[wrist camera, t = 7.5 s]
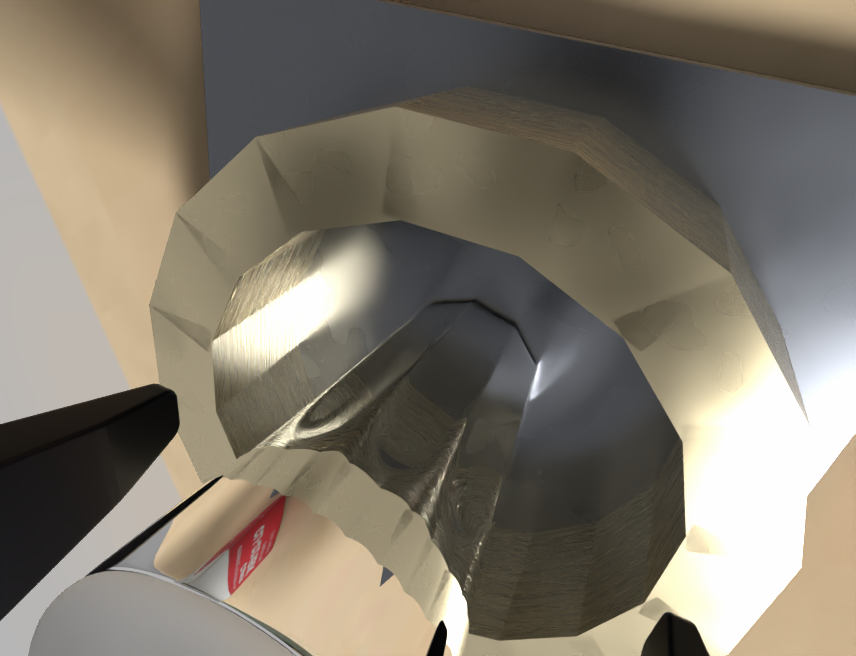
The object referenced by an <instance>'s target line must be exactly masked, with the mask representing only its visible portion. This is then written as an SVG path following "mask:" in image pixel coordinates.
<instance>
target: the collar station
mask: <svg viewBox="0 0 856 656" xmlns="http://www.w3.org/2000/svg"><path fill="white" fill-rule="evenodd" d="M200 17H201V35H202V52H203V69H204V87H205V104H206V121H207V139H208V156H209V173H210V181H209V182H208V183H207V184H206V185H205V186H204V187H203V188H202V189H200V190H199V191H198V192H197V193H196V194H195V195H194V196H193V197H192V198H191V199H190V200H189V201H188V202H187V203H186V204H185V205H184V206H183V207H181V208H180V209H179V210H178V211H177V212H176V214H175V218H174V221H173V225H172V228H171V232H170V235H169V239H168V242H167V246H166V249H165V252H164V256H163V259H162V263H161V266H160V270H159V273H158V277H157V280H156V283H155V287H154V290H153V294H152V297H151V301H150V304H149V306H150V314H151V321H152V329H153V336H154V344H155V351H156V359H157V366H158V374H159V381H160V385H162V386H164V387H167V388H169V389H171V390H173V391H174V392H175V393H176V395H177V400H178V409H179V417H180V426H179V429H178V433H179V435H180V437H181V439H182V441H183V444H184V446H185V448H186V450H187V452H188V454H189V456H190V459H191V461H192V463H193V465H194V467H195V469H196V471H197V473H198V476H199V478H200V480H201V482H202V483H203V484H205V483H206V482H207V481H209V480H210V479H211V478H213V477H214V476H215V475H216V474H218V473H219V472H220V471H222V470H223V469H224V468H226V467H227V466H228V465H230V464H231V463H232V462H233V461H235V460H236V459H237V458H239V457H240V456H241V455H243V454H244V453H245V452H247V451H248V450H250V449H251V448H252V447H254V446H255V445H256V444H258V443H259V442H260V441H262V440H263V439H264V438H266V437H267V436H269V435H270V434H271V433H273V432H274V431H275V430H277V429H278V428H279V427H281V426H282V425H283V424H284V423H286V422H287V421H288V420H290V419H291V418H292V417H293V416H295V415H296V414H297V413H298V412H300V411H301V410H302V409H303V408H304V407H306V406H307V405H308V404H309V403H311V402H312V401H313V400H314V399H315V398H317V397H318V396H319V395H320V394H321V393H323V392H324V391H325V390H326V389H328V388H329V387H330V386H331V385H332V384H334V383H335V382H336V381H337V380H338V379H340V378H341V377H342V376H343V375H344V374H346V373H347V372H348V371H349V370H350V369H351V368H353V367H354V366H355V365H356V364H357V363H359V362H360V361H361V360H362V359H363V358H365V357H366V356H367V355H368V354H369V353H371V352H372V351H373V350H374V349H375V348H377V347H378V346H379V345H380V344H381V343H383V342H384V341H385V340H386V339H387V338H389V337H390V336H391V335H392V334H393V333H395V332H396V331H397V330H398V329H399V328H400V327H402V326H403V325H404V324H405V323H406V322H408V321H409V320H410V319H411V318H412V317H414V316H415V315H416V314H417V313H418V312H420V311H421V310H422V309H423V308H425V307H426V306H427V305H429V304H450V303H468V302H473V303H475V304H477V305H479V306H480V307H482V308H484V309H485V310H487V311H489V312H491V313H492V314H494V315H496V316H498V317H499V318H501V319H503V320H505V321H506V322H508V323H510V324H512V325H513V326H515V327H516V329H517V331H518V333H519V335H520V337H521V339H522V341H523V343H524V344H525V346H526V348H527V350H528V352H529V354H530V356H531V358H532V359H533V361H534V363H535V365H536V367H537V370H536V374H535V379H534V384H533V388H532V393H531V398H530V403H529V408H528V412H527V416H526V419H525V423H524V426H523V430H522V433H521V437H520V440H519V444H518V447H517V451H516V454H515V457H514V461H513V464H512V468H511V471H510V475H509V478H508V482H507V485H506V489H505V492H504V495H503V499H502V502H501V506H500V509H499V513H498V516H497V520H496V523H495V527H494V530H493V534H492V537H491V541H490V544H489V548H488V551H487V555H486V558H485V562H484V565H483V569H482V572H481V576H480V580H479V584H478V588H477V592H476V599H475V605H474V611H473V616H472V620H471V625H470V629H469V633H468V637H467V642H466V646H465V650H464V654H463V656H641V652H642V648H643V645H644V643H645V641H646V639H647V637H648V636H649V634H650V633H651V631H652V630H653V628H654V627H655V625H656V624H657V622H658V621H659V619H660V618H661V616H662V615H663V614H664V613H666V612H672V613H674V614H677V615H679V616H681V617H683V618H686V619H688V620H690V621H692V622H693V623H694V624H695V625H696V626H697V627H698V629H699V631H700V634H701V636H702V638H703V641H704V643H705V645H706V648H707V650H708V652H709V655H710V656H724V655H726V654H729V652H730V651H731V650H732V649H733V648H734V646H735V645H736V644H737V643H738V642H739V641H740V639H741V638H742V637H743V636H744V635H745V633H746V632H747V631H748V630H749V629H750V627H751V626H752V625H753V624H754V623H755V621H756V620H757V619H758V618H759V617H760V616H761V614H762V613H763V612H764V611H765V610H766V608H767V607H768V606H769V605H770V604H771V602H772V601H773V600H774V599H775V598H776V597H777V595H778V594H779V593H780V592H781V591H782V589H783V588H784V587H785V586H786V585H787V583H788V582H789V581H790V580H791V579H792V577H793V576H794V575H795V574H796V573H797V572H798V570H799V569H800V568H801V562H802V549H803V536H804V523H805V510H806V498H807V495H808V494H809V493H810V491H811V490H812V489H813V487H814V486H815V485H816V483H817V482H818V481H819V480H820V478H821V477H822V476H823V474H824V473H825V472H826V470H827V469H828V468H829V466H830V465H831V464H832V463H833V461H834V460H835V459H836V457H837V456H838V455H839V453H840V452H841V451H842V449H843V448H844V447H845V446H846V444H847V443H848V442H849V440H850V439H851V438H852V436H853V435H854V434H855V432H856V93H855V92H850V91H845V90H840V89H835V88H830V87H825V86H819V85H814V84H809V83H804V82H799V81H794V80H789V79H784V78H779V77H774V76H769V75H764V74H759V73H754V72H749V71H744V70H739V69H734V68H729V67H724V66H719V65H714V64H709V63H703V62H698V61H693V60H688V59H683V58H678V57H673V56H668V55H663V54H658V53H653V52H648V51H643V50H638V49H633V48H628V47H623V46H618V45H613V44H608V43H603V42H598V41H593V40H587V39H582V38H577V37H572V36H567V35H562V34H557V33H552V32H547V31H542V30H537V29H532V28H527V27H522V26H517V25H512V24H507V23H502V22H497V21H492V20H487V19H482V18H476V17H471V16H466V15H461V14H456V13H451V12H446V11H441V10H436V9H431V8H426V7H421V6H416V5H411V4H406V3H401V2H396V1H391V0H200Z"/></svg>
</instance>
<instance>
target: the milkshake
mask: <svg viewBox="0 0 856 656" xmlns="http://www.w3.org/2000/svg"><path fill="white" fill-rule="evenodd" d="M536 370H537V367H536V365H535V363H534V361H533V359H532V358H531V356H530V354H529V352H528V350H527V348H526V346H525V344H524V343H523V341H522V339H521V337H520V335H519V333H518V331H517V329H516V327H515V326H513V325H512V324H510V323H508V322H506V321H505V320H503V319H501V318H499V317H498V316H496V315H494V314H492V313H491V312H489V311H487V310H485V309H484V308H482V307H480V306H479V305H477V304H475V303H473V302H468V303H450V304H429V305H427V306H426V307H425V308H423V309H422V310H421V311H420V312H418V313H417V314H416V315H415V316H414V317H412V318H411V319H410V320H409V321H408V322H406V323H405V324H404V325H403V326H402V327H400V328H399V329H398V330H397V331H396V332H395V333H393V334H392V335H391V336H390V337H389V338H387V339H386V340H385V341H384V342H383V343H381V344H380V345H379V346H378V347H377V348H375V349H374V350H373V351H372V352H371V353H369V354H368V355H367V356H366V357H365V358H363V359H362V360H361V361H360V362H359V363H357V364H356V365H355V366H354V367H353V368H351V369H350V370H349V371H348V372H347V373H346V374H344V375H343V376H342V377H341V378H340V379H338V380H337V381H336V382H335V383H334V384H332V385H331V386H330V387H329V388H328V389H326V390H325V391H324V392H323V393H321V394H320V395H319V396H318V397H317V398H315V399H314V400H313V401H312V402H311V403H309V404H308V405H307V406H306V407H304V408H303V409H302V410H301V411H300V412H298V413H297V414H296V415H295V416H293V417H292V418H291V419H290V420H288V421H287V422H286V423H284V424H283V425H282V426H281V427H279V428H278V429H277V430H275V431H274V432H273V433H271V434H270V435H269V436H267V437H266V438H264V439H263V440H262V441H260V442H259V443H258V444H256V445H255V446H254V447H252V448H251V449H250V450H248V451H247V452H245V453H244V454H243V455H241V456H240V457H239V458H237V459H236V460H235V461H233V462H232V463H231V464H230V465H228V466H227V467H226V468H224V469H223V470H222V471H220V472H219V473H218V474H216V475H215V476H214V477H213V478H211V479H210V480H209V481H207V482H206V483H205V484H203V485H202V486H201V487H200V488H198V489H197V490H196V491H194V492H193V493H192V494H190V495H189V496H188V497H187V498H185V499H184V500H183V501H181V502H180V503H179V504H177V505H176V506H175V507H174V508H172V509H171V510H170V511H168V512H167V513H166V514H165V515H163V516H162V517H161V518H160V519H158V520H157V521H156V522H154V523H153V524H152V525H150V526H149V527H148V528H146V529H145V530H144V531H143V532H141V533H140V534H139V535H137V536H136V537H135V538H133V539H132V540H131V541H130V542H128V543H127V544H126V545H124V546H123V547H122V548H120V549H119V550H118V551H117V552H115V553H114V554H113V555H111V556H110V557H109V558H107V559H106V560H105V561H104V562H102V563H101V564H100V565H98V566H97V567H96V568H95V569H93V570H92V571H91V572H90V573H89V574H88V575H86V576H85V577H84V578H83V579H81V580H79V581H77V582H76V583H74V584H73V585H71V586H70V587H68V588H67V589H66V590H64V592H62V593H61V594H60V595H59V596H58V597H57V598H56V599H55V600H54V601H53V602H52V603H51V604H50V606H49V607H48V608H47V609H46V610H45V612H44V614H43V615H42V617H41V619H40V620H39V623H38V625H37V628H36V630H35V633H34V636H33V639H32V642H31V645H30V650H29V655H28V656H463V654H464V650H465V646H466V642H467V637H468V633H469V629H470V625H471V620H472V616H473V611H474V605H475V599H476V592H477V588H478V584H479V580H480V576H481V572H482V569H483V565H484V562H485V558H486V555H487V551H488V548H489V544H490V541H491V537H492V534H493V530H494V527H495V523H496V520H497V516H498V513H499V509H500V506H501V502H502V499H503V495H504V492H505V489H506V485H507V482H508V478H509V475H510V471H511V468H512V464H513V461H514V457H515V454H516V451H517V447H518V444H519V440H520V437H521V433H522V430H523V426H524V423H525V419H526V416H527V412H528V408H529V403H530V398H531V393H532V388H533V384H534V379H535V374H536Z"/></svg>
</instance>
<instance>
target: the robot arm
mask: <svg viewBox="0 0 856 656" xmlns="http://www.w3.org/2000/svg"><path fill="white" fill-rule="evenodd" d="M179 426H180V417H179V409H178V400H177V395H176V393H175V392H174V391H173V390H171V389H169V388H167V387H164V386H162V385H160V384H150V385H146V386H142V387H139V388H135V389H131V390H127V391H124V392H120V393H116V394H112V395H109V396H105V397H101V398H97V399H93V400H90V401H86V402H82V403H78V404H75V405H71V406H67V407H63V408H60V409H56V410H52V411H49V412H45V413H41V414H37V415H33V416H30V417H26V418H22V419H18V420H15V421H11V422H7V423H3V424H0V621H1V620H2V619H3V618H4V617H5V616H6V615H7V614H8V613H9V612H10V611H11V610H12V609H13V608H14V607H15V606H16V605H17V604H18V603H19V602H20V601H21V600H22V599H23V598H24V597H25V596H26V595H27V594H28V593H29V592H30V591H31V590H32V589H33V588H34V587H35V586H36V585H37V584H38V583H39V582H40V581H41V580H42V579H43V578H44V577H45V576H46V575H47V574H48V573H49V572H50V571H51V570H52V569H53V568H54V567H55V566H56V565H57V564H58V563H59V562H60V561H61V560H62V559H63V558H64V557H65V556H66V555H67V554H68V553H69V552H70V551H71V550H72V549H73V548H74V547H75V546H76V545H77V544H78V543H79V542H80V541H81V540H82V539H83V538H84V537H85V536H86V535H87V534H88V533H89V532H90V531H91V530H92V529H93V528H94V527H95V526H96V525H97V524H98V523H99V522H100V521H101V520H102V519H103V518H104V517H105V516H106V515H107V514H108V513H109V512H110V511H111V510H112V509H113V508H114V507H115V506H116V505H117V504H118V503H119V502H120V501H121V500H122V499H123V497H124V496H125V495H126V494H127V493H128V492H129V491H130V489H131V488H132V487H133V486H134V485H135V483H136V482H137V481H138V480H139V479H140V477H141V476H142V475H143V474H144V473H145V471H146V470H147V469H148V468H149V467H150V465H151V464H152V463H153V462H154V461H155V459H156V458H157V457H158V456H159V455H160V453H161V452H162V451H163V450H164V449H165V447H166V446H167V445H168V444H169V443H170V441H171V440H172V439H173V438H174V436H175V435H176V433H177V432H178V429H179ZM641 656H710V655H709V652H708V650H707V648H706V645H705V643H704V641H703V638H702V636H701V634H700V631H699V629H698V627H697V626H696V625H695V624H694V623H693V622H692V621H690V620H688V619H686V618H683V617H681V616H679V615H677V614H674V613H672V612H666V613H664V614H663V615H662V616H661V618H660V619H659V621H658V622H657V624H656V625H655V627H654V628H653V630H652V631H651V633H650V634H649V636H648V637H647V639H646V641H645V643H644V645H643V648H642V652H641Z"/></svg>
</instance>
